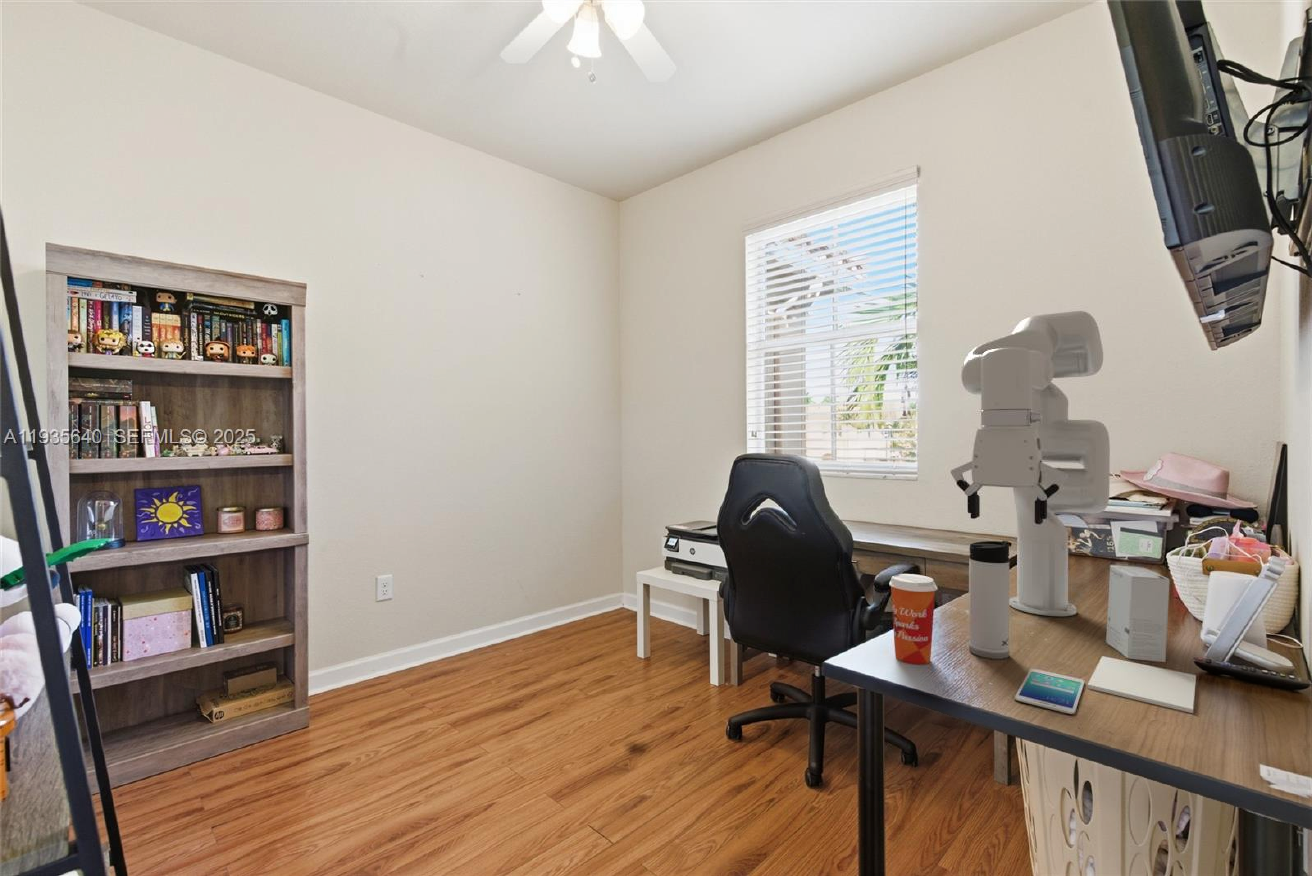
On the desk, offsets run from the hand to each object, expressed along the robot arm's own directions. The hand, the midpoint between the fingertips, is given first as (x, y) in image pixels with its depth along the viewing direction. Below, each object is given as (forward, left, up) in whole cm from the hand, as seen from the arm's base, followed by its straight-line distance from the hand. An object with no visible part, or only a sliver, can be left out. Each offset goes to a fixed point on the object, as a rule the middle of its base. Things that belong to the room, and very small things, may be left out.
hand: (1006, 520), depth 102 cm
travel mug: (-2, -3, -24) cm, 25 cm away
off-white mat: (-4, +18, -24) cm, 30 cm away
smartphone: (+9, +8, -25) cm, 28 cm away
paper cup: (+10, -12, -24) cm, 29 cm away
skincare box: (-20, +16, -24) cm, 36 cm away
